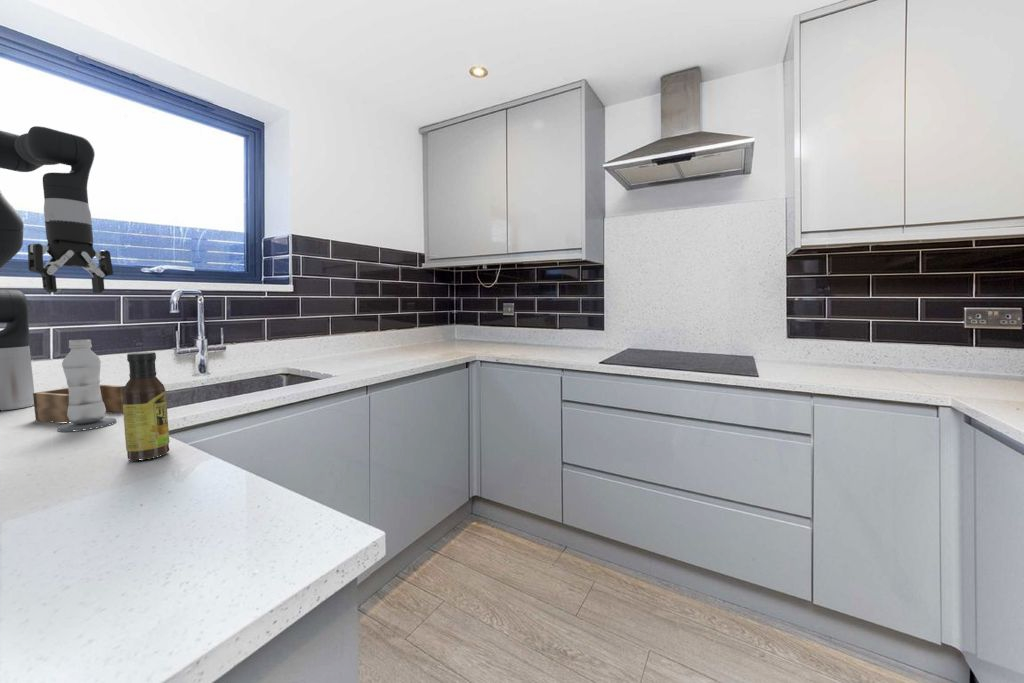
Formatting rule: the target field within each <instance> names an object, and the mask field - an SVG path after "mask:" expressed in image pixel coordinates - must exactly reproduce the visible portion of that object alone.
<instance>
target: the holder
mask: <svg viewBox="0 0 1024 683" xmlns="http://www.w3.org/2000/svg"><path fill="white" fill-rule="evenodd" d="M125 386H126V385H125ZM125 386H124V385H115V384H114V385H113V384H100V391H101V395H102V400H103V402H104V405H105V408H106V412H109V411H114V412H113V413H120V412H121V414H122V413H123V388H124V387H125ZM33 399H34V405H33V406H34V416H35V417H34V418H35V421H36V420H41V421H40V422H45V421H53V422H52V423H55V422H67V423H69V422H70V421H69V419H68V416H67V411H68V406H69V390H68V387H66V388H64V387H63V388H58V389H51V390H46V391H45V390H44V391H38V392H34V393H33Z"/></svg>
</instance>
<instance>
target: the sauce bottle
mask: <svg viewBox="0 0 1024 683" xmlns="http://www.w3.org/2000/svg"><path fill="white" fill-rule="evenodd" d="M126 359H127V360H126V361H127V362H128V367H129V375H128V376H129V380H128V381H127V383H126V384H125V387H124V388H123V426H124V437H125V449H126V451H127V460H129V459H130V460H129V461H131V460H139V459H148V458H153V457H157V456H160V455H163V454H165V453H167V452H168V451H169V452H170V447H169V444H170V433H169V432H170V431H169V429H170V428H169V418H168V405H167V404H168V403H167V392H166V389H165V386H164V384H163V383H162V381H160V379H159V378H158V376H157V371H156V359H157V354H156V352H155V351H150V352H148V351H143V352H140V351H139V352H129V353H127V354H126ZM169 452H168V453H169ZM168 453H167V454H168ZM165 455H166V454H165ZM163 456H164V455H163ZM157 458H158V457H157ZM153 459H154V458H153ZM148 460H149V459H148Z"/></svg>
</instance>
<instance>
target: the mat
mask: <svg viewBox="0 0 1024 683" xmlns="http://www.w3.org/2000/svg"><path fill="white" fill-rule="evenodd" d="M115 422H116V423H117V419H116V418H115V417H104V418H103V419H102V420H99V421H96V422H93V423H89V424H73V423H67V424H64V423H62V424H61V425H59V426H57V431H58V430H60V431H73V430H83V429H90V428H96V427H101V426H106V425H109V424H112V423H115ZM116 423H115V424H116ZM112 425H113V424H112ZM109 426H110V425H109ZM106 427H107V426H106ZM60 431H59V432H60Z"/></svg>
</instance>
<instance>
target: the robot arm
mask: <svg viewBox="0 0 1024 683" xmlns="http://www.w3.org/2000/svg"><path fill="white" fill-rule="evenodd" d="M95 156H96V155H95V148H94V147H93V145H92V144H91V142H90V141H89V140H88V139H87V138H85V137H83V136H82V135H81V136H79V135H78V134H77V135H76V134H72V133H69V132H65V131H61V130H57V129H53V128H50V127H45V126H38V125H37V126H36V125H35V126H32V127H30V128H29V130H28V131H27V133H23V134H21V135H19V134H15V133H12V132H8V131H5V130H4V131H3V130H0V169H4V170H9V171H13V172H14V171H15V172H18V173H29V172H34V171H36V170H38V169H39V168H41V167H44V166H55V165H56V166H57V165H60V164H61V165H65V166H70V170H69V172H48V173H44V174H43V176H42V188H43V198H44V201H43V202H44V204H43V215H44V226H45V235H46V240H47V245H44V244H43V245H42V244H41V243H32V244H31V243H30V244H28V245H27V257H28V258H27V259H28V261H27V262H28V263H27V266H28V267H27V268H28V271H29V272H33V273H36V274H39V275H41V278H42V279H41V280H42V281H41V282H42V288H43V290H45V292H46V293H57V292H58V289H57V278H56V275H54V274H55V273H56V272H57V271H58V270H59V269H60V268H62V267H74V268H83V269H84V271H87V272H88V273H89V274H90V276H91V285H92V286H91V287H92V289H91V290H92V293H93V294H102V293H103V292H104V291H105V277H108V276H112V275H114V271H113V264H112V258H111V253H110V251H109V250H95V248H94V247H93V245H94V237H93V236H94V234H93V221H92V214H91V210H90V206H89V197H88V184H89V183H88V182H89V179H90V178H89V176H90V172H91V169H92V167H93V163H94V160H95ZM23 243H24V221H23V219H22V217H21V216H20V214H19V213H18V211H17V210H16V208H15V207H14V206H13V205H12V204H11V202H9V200H8V199H7V198H6V196H5V195H4V194H3V193H2V191H1V190H0V269H2V268H3V267H4V266H5V265H6V264H7V263H8V262H9V261H11V260H12V259H13V257H15V256H16V255H17V254H18V253H19V252H20V251H21V249H22V248H23V245H24V244H23ZM46 252H47V254H48V255H49V256H50V258H49V260H47V262H46V263H45V265H44V256H43V255H45V254H46ZM94 257H95V258H96V259H97V260H98V264H97V263H96V261H95V260H93V259H94ZM5 323H6V325H5V327H4V328H3V329H1V330H0V410H1V411H9V410H17V409H23V408H28V407H31V406H34V399H33V393H35V386H34V376H33V366H32V358H31V350H30V327H29V326H30V325H29V303H28V299H27V297H26V295H25V293H23V292H22V291H20V290H16V289H0V324H5Z"/></svg>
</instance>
